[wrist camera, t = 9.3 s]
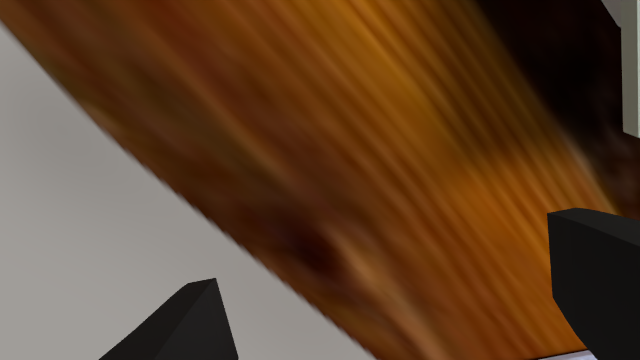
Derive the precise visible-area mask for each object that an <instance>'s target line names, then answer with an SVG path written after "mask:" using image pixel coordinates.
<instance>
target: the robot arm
mask: <svg viewBox="0 0 640 360" xmlns="http://www.w3.org/2000/svg"><path fill="white" fill-rule="evenodd" d="M547 219H548V234H549V249H550V264H551V279H552V294H553V298H554V300H555V302H556V303H557V305H558V307H559V308H560V310H561V312H562V313H563V315H564V317H565V318H566V320H567V321H568V323H569V324H570V326H571V327H572V329H573V331H574V332H575V334H576V335H577V336H578V337H579V339H580V340H581V341H582V342H583V343H584V345H585V346H586V347H587V348H588V349H589V350H587V351H582V352H577V353H571V354H566V355H561V356H555V357H550V358H545V359H540V360H640V221H637V220H633V219H629V218H625V217H621V216H617V215H613V214H609V213H605V212H600V211H595V210H590V209H583V208H572V209H567V210H562V211H556V212H551V213H547ZM99 360H238V354H237V351H236V347H235V344H234V340H233V337H232V333H231V330H230V326H229V323H228V319H227V316H226V312H225V308H224V305H223V302H222V298H221V294H220V291H219V287H218V284H217V281H216V278H213V279H207V280H202V281H197V282H192V283H188V284H186V285H185V286H184V287H182V288H181V289H180V290H179V291H177V292H176V293H175V294H174V295H173V296H171V297H170V298H169V299H168V300H167V301H166V302H165V303H164V304H162V305H161V306H160V307H159V308H158V309H157V310H156V311H155V312H154V313H153V314H152V315H151V316H149V317H148V318H147V319H146V320H145V321H144V322H143V323H142V324H140V325H139V326H138V327H137V328H136V329H135V330H134V331H133V332H131V333H130V334H129V335H128V336H127V337H126V338H124V339H123V340H122V341H121V342H119V343H118V344H117V345H116V346H114V347H113V348H112V349H111V350H110V351H108V352H107V353H106V354H105V355H104V356H102V357H101V358H100V359H99Z"/></svg>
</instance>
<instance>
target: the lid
mask: <svg viewBox="0 0 640 360" xmlns="http://www.w3.org/2000/svg"><path fill="white" fill-rule="evenodd" d="M621 45H622V96H623V132H625V133H628V134H630V135H633V136H636V137H638V138H639V137H640V0H621Z"/></svg>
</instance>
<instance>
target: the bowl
mask: <svg viewBox="0 0 640 360" xmlns="http://www.w3.org/2000/svg"><path fill="white" fill-rule="evenodd" d="M601 1H602V2H603V4H604V5H605V7H606V8H607V10H608V12H609V13H610V15H611V16H612V18H613V19H614V21H615V22H616V24H617V25H618V26H619V27H621V0H601Z"/></svg>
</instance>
